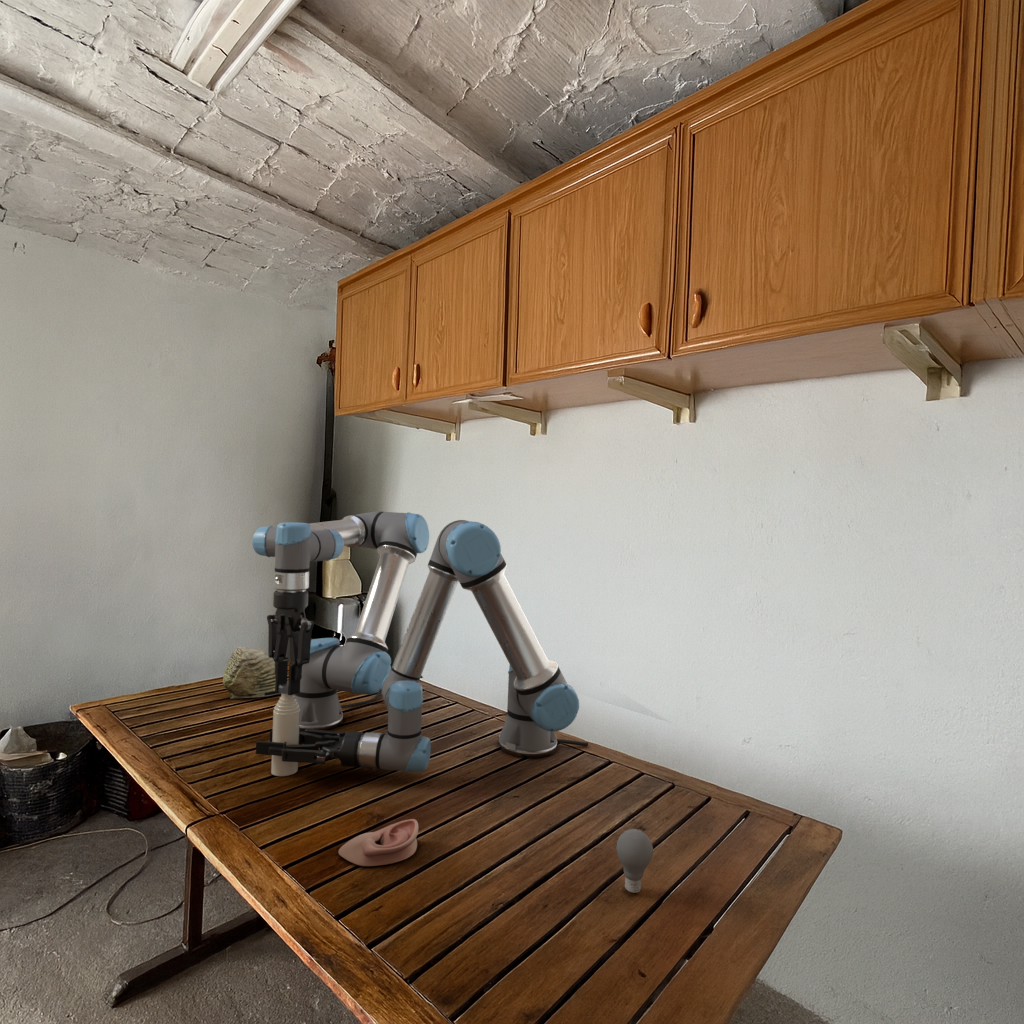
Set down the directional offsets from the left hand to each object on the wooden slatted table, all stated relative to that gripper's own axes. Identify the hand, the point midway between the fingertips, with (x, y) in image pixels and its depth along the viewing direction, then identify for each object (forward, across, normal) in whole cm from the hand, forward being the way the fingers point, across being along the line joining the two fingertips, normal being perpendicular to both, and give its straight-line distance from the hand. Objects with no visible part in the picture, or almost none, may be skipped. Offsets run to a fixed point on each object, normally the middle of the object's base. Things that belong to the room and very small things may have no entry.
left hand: (287, 691), depth 145 cm
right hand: (+12, -5, -2) cm, 13 cm away
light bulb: (+18, +83, +4) cm, 85 cm away
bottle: (+18, 0, 0) cm, 18 cm away
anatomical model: (+18, +40, -12) cm, 46 cm away
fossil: (+18, -52, +30) cm, 63 cm away
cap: (-1, 0, 0) cm, 1 cm away
